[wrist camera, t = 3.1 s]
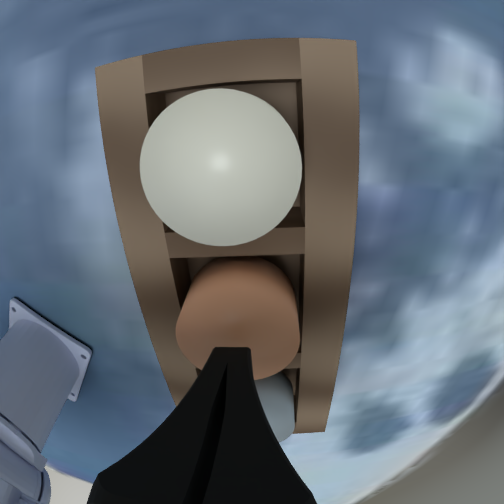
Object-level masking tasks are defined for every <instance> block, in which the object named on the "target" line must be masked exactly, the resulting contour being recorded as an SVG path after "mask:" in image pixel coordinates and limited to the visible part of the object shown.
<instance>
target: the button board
mask: <svg viewBox="0 0 504 504" xmlns="http://www.w3.org/2000/svg"><path fill="white" fill-rule="evenodd" d="M95 74H96V86H97V97H98V107H99V115H100V123H101V131H102V138H103V145H104V152H105V158H106V164H107V170H108V175H109V181H110V186H111V192H112V197H113V202H114V206H115V211H116V216H117V220H118V225H119V229H120V233H121V238H122V242H123V246H124V250H125V254H126V258H127V261H128V265H129V269H130V273H131V276H132V280H133V283H134V287H135V290H136V294H137V297H138V301H139V304H140V307H141V310H142V314H143V317H144V320H145V323H146V326H147V329H148V332H149V335H150V338H151V341H152V344H153V347H154V350H155V353H156V355H157V358H158V361H159V364H160V366H161V369H162V372H163V374H164V377H165V380H166V382H167V385H168V387H169V390H170V393H171V395H172V397H173V400H174V402H175V405H176V407H177V405H178V404H179V403H180V401H181V400H182V399H183V397H184V396H185V395H186V393H187V392H188V391H189V389H190V388H191V386H192V385H193V383H194V381H195V380H196V378H197V377H198V375H199V374H200V372H201V370H200V369H199V368H197V367H196V366H195V365H193V364H192V363H191V362H190V361H189V360H188V359H187V358H186V357H185V356H184V354H183V353H182V351H181V349H180V348H179V346H178V343H177V339H176V323H177V320H178V317H179V315H180V312H181V309H182V307H183V304H184V301H185V299H186V296H187V293H188V291H189V288H190V285H191V283H192V280H193V279H194V277H195V275H196V274H197V273H198V271H199V270H200V269H201V268H202V267H204V266H205V265H206V264H208V263H209V262H211V261H213V260H215V259H218V258H221V257H224V256H255V257H259V258H262V259H264V260H267V261H269V262H271V263H272V264H274V265H276V266H277V267H278V268H280V269H281V270H282V271H283V272H284V273H285V274H286V275H287V277H288V278H289V280H290V281H291V283H292V285H293V287H294V290H295V295H296V304H297V313H298V322H299V332H300V345H299V349H298V352H297V354H296V356H295V357H294V359H293V360H292V361H291V363H290V364H289V365H288V366H287V367H285V368H284V369H283V370H281V371H280V372H282V373H283V374H285V375H286V376H287V377H288V378H289V380H290V381H291V383H292V386H293V398H294V420H295V428H294V431H293V433H292V434H295V433H313V432H325V428H326V424H327V419H328V415H329V410H330V406H331V401H332V396H333V391H334V386H335V381H336V375H337V370H338V364H339V359H340V353H341V347H342V341H343V334H344V328H345V321H346V314H347V306H348V299H349V290H350V282H351V273H352V263H353V253H354V242H355V229H356V215H357V198H358V175H359V85H358V63H357V48H356V41H354V40H340V39H321V38H269V39H250V40H237V41H226V42H217V43H208V44H201V45H194V46H187V47H181V48H175V49H170V50H164V51H159V52H154V53H150V54H145V55H141V56H136V57H132V58H128V59H124V60H120V61H116V62H113V63H109V64H106V65H102V66H99V67H95ZM219 88H223V89H233V90H238V91H242V92H245V93H248V94H251V95H254V96H256V97H259V98H260V99H262V100H264V101H266V102H267V103H268V104H270V105H271V106H272V107H274V108H275V109H276V110H277V111H278V112H279V113H280V115H281V116H282V117H283V118H284V120H285V121H286V122H287V124H288V125H289V126H290V128H291V130H292V132H293V134H294V135H295V138H296V140H297V143H298V146H299V150H300V154H301V161H302V178H301V183H300V188H299V191H298V194H297V197H296V200H295V202H294V204H293V206H292V208H291V209H290V210H289V212H288V213H287V215H286V216H285V217H284V218H283V220H282V221H281V222H280V223H279V224H278V225H277V226H276V227H274V228H273V229H272V230H271V231H269V232H268V233H266V234H265V235H263V236H261V237H259V238H257V239H255V240H252V241H250V242H247V243H243V244H239V245H233V246H212V245H205V244H202V243H198V242H195V241H192V240H190V239H187V238H185V237H183V236H182V235H180V234H178V233H176V232H175V231H174V230H172V229H171V228H170V227H168V226H167V225H166V224H165V223H164V222H163V221H162V220H161V219H160V218H159V217H158V215H157V214H156V213H155V211H154V210H153V209H152V207H151V205H150V204H149V202H148V200H147V198H146V195H145V192H144V190H143V186H142V182H141V177H140V156H141V150H142V146H143V143H144V139H145V137H146V135H147V133H148V131H149V129H150V127H151V125H152V124H153V122H154V121H155V120H156V118H157V117H158V116H159V115H160V114H161V113H162V112H163V111H164V110H165V109H166V108H167V107H168V106H169V105H171V104H172V103H174V102H175V101H177V100H178V99H180V98H182V97H184V96H186V95H188V94H191V93H194V92H197V91H201V90H207V89H219Z"/></svg>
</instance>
